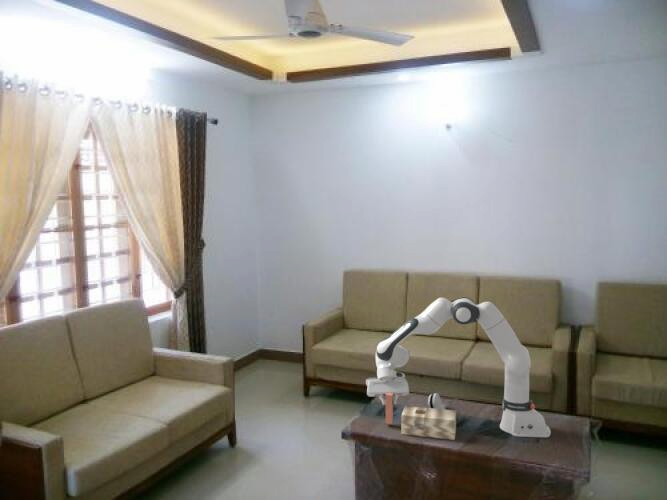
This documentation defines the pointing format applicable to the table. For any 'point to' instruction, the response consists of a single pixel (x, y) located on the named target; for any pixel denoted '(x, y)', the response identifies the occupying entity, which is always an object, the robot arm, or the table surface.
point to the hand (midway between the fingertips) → (389, 403)
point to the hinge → (435, 402)
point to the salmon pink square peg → (389, 408)
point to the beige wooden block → (428, 422)
